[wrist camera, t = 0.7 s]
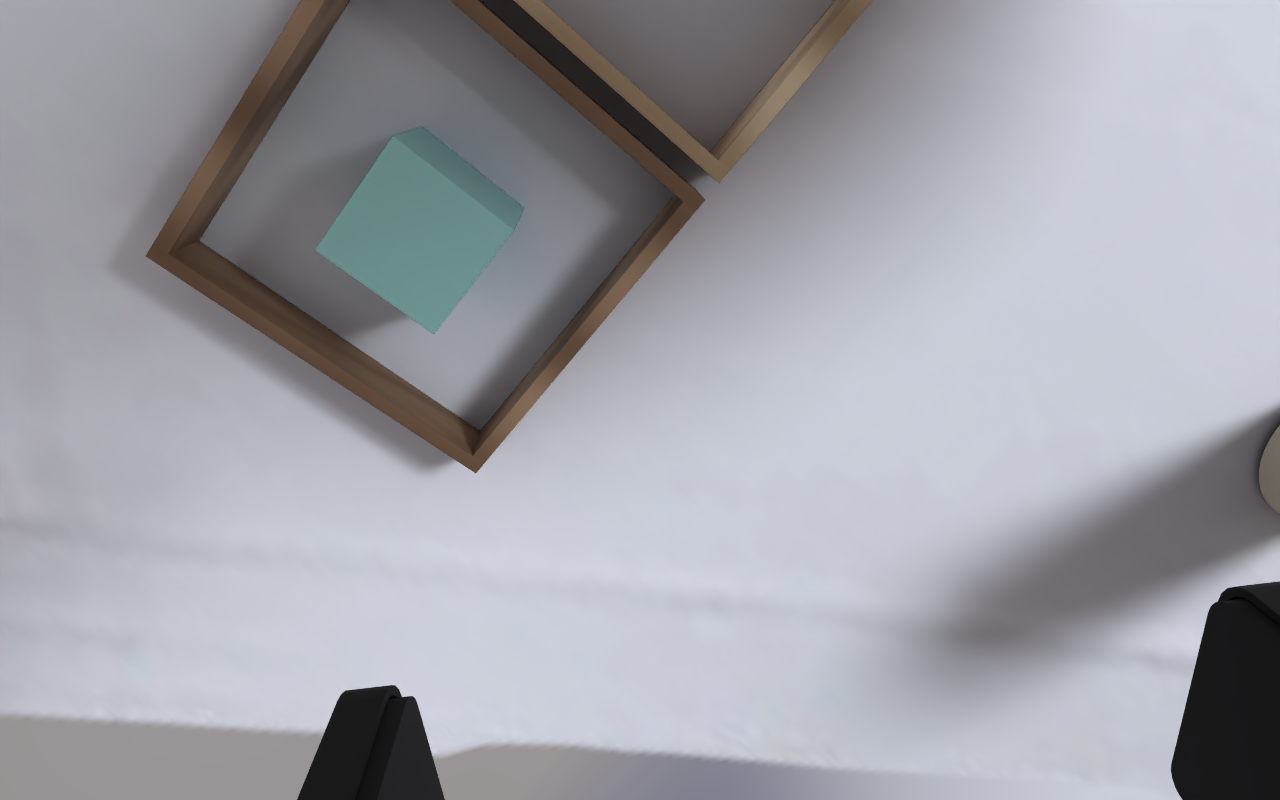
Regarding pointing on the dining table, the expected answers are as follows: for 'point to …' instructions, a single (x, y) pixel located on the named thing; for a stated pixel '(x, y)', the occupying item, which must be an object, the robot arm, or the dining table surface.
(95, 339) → the dining table surface
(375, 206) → the teal cube
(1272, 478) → the travel mug
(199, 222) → the walnut tray
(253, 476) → the dining table surface
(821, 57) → the oak tray
